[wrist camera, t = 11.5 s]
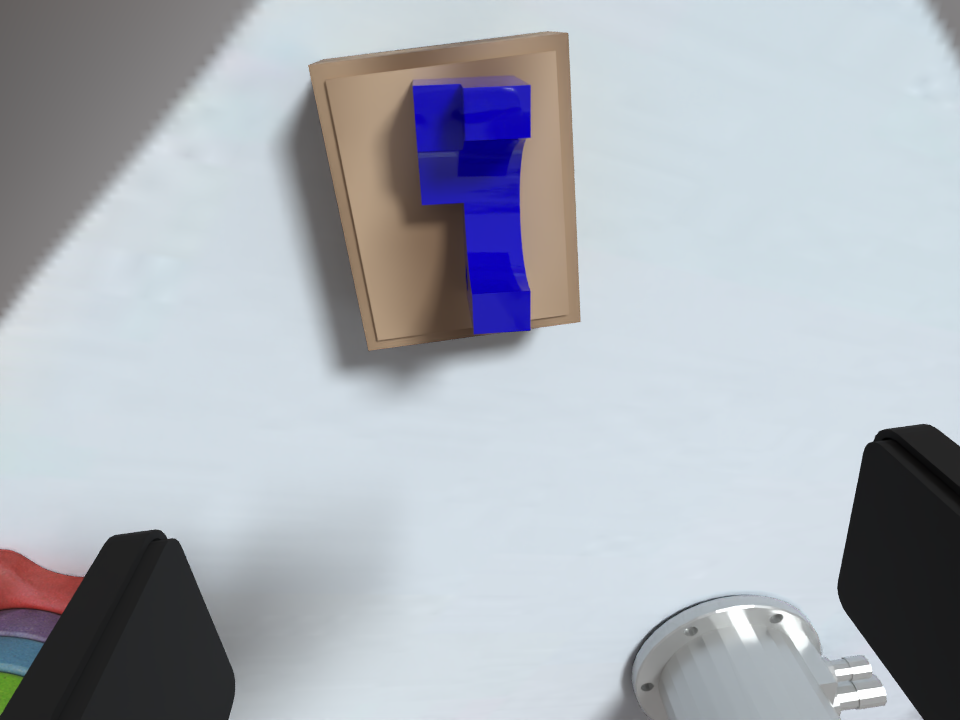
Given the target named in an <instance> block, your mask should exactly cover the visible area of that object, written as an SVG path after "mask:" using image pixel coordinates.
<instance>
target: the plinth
mask: <svg viewBox="0 0 960 720" xmlns="http://www.w3.org/2000/svg"><path fill="white" fill-rule="evenodd" d="M308 67H309V71H310V76H311V81H312V85H313V90H314V95H315V100H316V104H317V109H318V114H319V119H320V123H321V128H322V133H323V138H324V142H325V147H326V152H327V157H328V161H329V166H330V171H331V175H332V180H333V185H334V190H335V194H336V199H337V204H338V209H339V213H340V218H341V223H342V228H343V232H344V237H345V242H346V246H347V251H348V256H349V261H350V265H351V270H352V275H353V280H354V284H355V289H356V294H357V299H358V303H359V308H360V313H361V317H362V322H363V327H364V332H365V336H366V341H367V346H368V351H371V350H378V349H385V348H393V347H400V346H407V345H415V344H422V343H429V342H437V341H444V340H451V339H459V338H466V337H473V336H481V335H488V334H495V333H487V334H474V333H473V327H472V322H471V316H470V311H469V306H468V300H467V295H466V279H465V258H464V236H463V215H462V203H454V204H436V205H422V201H421V188H420V176H419V164H418V152H417V139H416V126H415V113H414V99H413V86H412V85H413V80H417V79H440V78H463V77H486V76H508V75H514V76H515V77H517V78H519V79H521V80H523V81H524V82H526V83H528V84H530V85H531V138H527V139H526V141H525V143H524V147H523V153H522V160H521V172H520V223H521V238H522V249H523V258H524V265H525V271H526V276H527V281H528V285H529V288H530V291H531V321H530V329H532V328H539V327H547V326H554V325H561V324H569V323H576V322H580V299H579V275H578V252H577V228H576V204H575V181H574V157H573V133H572V110H571V86H570V62H569V39H568V33H563V32H549V31H547V32H539V33H531V34H523V35H515V36H507V37H499V38H491V39H483V40H475V41H467V42H459V43H451V44H443V45H435V46H427V47H419V48H411V49H403V50H395V51H387V52H379V53H371V54H363V55H355V56H347V57H339V58H331V59H323V60H320V61H318V62H315V63H313V64H310V65H308ZM501 333H503V332H501Z"/></svg>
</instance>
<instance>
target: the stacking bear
mask: <svg viewBox="0 0 960 720" xmlns="http://www.w3.org/2000/svg"><path fill="white" fill-rule="evenodd" d="M83 578H84V577H74V576H67V575H63V574H58V573H55V572H52V571H49V570H46V569H44V568H42V567H40V566H38V565H37V564H35V563H33V562H32V561H30V560H29V559H27V558H26V557H24V556H22V555H21V554H18V553H16V552H14V551H10V550H3V549H0V715H1V714H2V712H3V710H4V709H5V707H6V705H7V704H8V702H9V700H10V699H11V697H12V695H13V694H14V692H15V690H16V689H17V687H18V686H19V684H20V682H21V681H22V679H23V677H24V676H25V674H26V672H27V671H28V669H29V667H30V666H31V664H32V662H33V661H34V659H35V658H36V656H37V654H38V653H39V651H40V649H41V648H42V646H43V644H44V643H45V641H46V639H47V638H48V636H49V634H50V633H51V631H52V630H53V628H54V626H55V625H56V623H57V621H58V620H59V618H60V616H61V615H62V613H63V611H64V610H65V608H66V606H67V605H68V603H69V602H70V600H71V598H72V597H73V595H74V593H75V592H76V590H77V588H78V587H79V585H80V583H81V582H82V580H83Z"/></svg>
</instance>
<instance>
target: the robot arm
mask: <svg viewBox="0 0 960 720" xmlns="http://www.w3.org/2000/svg"><path fill="white" fill-rule="evenodd" d="M837 589H838V595H839V599H840V602H841V604H842V607H843V608H844V610H845V612H846V613H847V615H848V616H849V618H850V619H851V620H852V622H853V623H854V624H855V626H856V627H857V629H858V630H859V631H860V633H861V634H862V635H863V637H864V638H865V639H866V641H867V642H868V644H869V645H870V646H871V648H872V649H873V650H874V652H875V653H876V655H877V656H878V657H879V659H880V660H881V661H882V663H883V664H884V666H885V667H886V668H887V670H888V671H889V672H890V674H891V675H892V677H893V678H894V679H895V681H896V682H897V683H898V685H899V686H900V688H901V689H902V690H903V692H904V693H905V694H906V696H907V697H908V699H909V700H910V701H911V703H912V704H913V705H914V707H915V708H916V710H917V711H918V712H919V714H920V715H921V716H922V718H923V719H924V720H960V446H959V445H957V444H956V443H955V442H953V441H952V440H951V439H950V438H948V437H947V436H946V435H944V434H943V433H942V432H941V431H939V430H938V429H936V428H935V427H933V426H931V425H927V424H920V425H912V426H905V427H898V428H891V429H884V430H882V431H879V432H878V434H877V435H876V436H875V439H874V441H873V442H871V443H868V444H867V445H866V447H865V449H864V452H863V457H862V462H861V467H860V473H859V478H858V483H857V488H856V493H855V498H854V503H853V508H852V513H851V518H850V523H849V528H848V533H847V539H846V544H845V549H844V554H843V559H842V564H841V569H840V574H839V579H838V587H837ZM632 684H633V688H634V692H635V695H636V698H637V700H638V703H639V705H640V707H641V708H642V710H643V711H644V712H645V714H646V715H647V716H648V717H650V718H651V719H652V720H841V718H840V717H839V716H840V713H841V711H842V710H849V709H865V708H871V707H878V706H884V705H885V704H886V702H887V700H886V693H885V690H884V687H883V685H882V683H881V681H880V680H879V679H878V678H877V676H876V675H874V674H872V669H871V666H870V664H869V662H868V660H867V659H866V658H865V657H864V656H863V655H857V656H851V657H844V658H842V659H838V660H832V661H830V660H829V659H828V658H826V657H821V643H820V640H819V637H818V634H817V632H816V631H815V629H814V628H813V626H812V625H811V623H810V622H809V620H808V619H807V618H806V616H805V615H804V614H803V613H802V612H801V611H800V610H799V609H797V608H795V607H794V606H792V605H790V604H789V603H787V602H784V601H781V600H778V599H775V598H771V597H764V596H757V595H737V596H730V597H724V598H718V599H715V600H711V601H708V602H704V603H701V604H698V605H696V606H694V607H691V608H689V609H687V610H684V611H683V612H681V613H679V614H678V615H676V616H674V617H673V618H671V619H669V620H668V621H667V622H665V623H664V624H663V625H662V626H660V627H659V628H658V629H657V630H655V632H654V633H653V634H652V635H651V636H650V637H649V638H648V639H647V640H646V642H645V643H644V644H643V646H642V647H641V649H640V651H639V652H638V654H637V656H636V659H635V662H634V664H633V667H632ZM234 695H235V678H234V673H233V669H232V667H231V665H230V662H229V660H228V657H227V655H226V653H225V650H224V648H223V645H222V643H221V641H220V638H219V636H218V633H217V631H216V628H215V626H214V624H213V621H212V619H211V616H210V614H209V612H208V609H207V607H206V604H205V602H204V600H203V597H202V595H201V592H200V590H199V588H198V585H197V583H196V580H195V578H194V576H193V573H192V571H191V568H190V566H189V564H188V561H187V559H186V556H185V554H184V551H183V549H182V547H181V545H180V543H179V541H177V540H176V539H167V537H166V535H165V534H164V533H163V532H162V531H161V530H149V531H141V532H134V533H127V534H120V535H114V536H112V537H110V538H109V539H108V540H107V541H106V543H105V544H104V546H103V547H102V549H101V550H100V552H99V554H98V555H97V557H96V559H95V560H94V562H93V564H92V565H91V567H90V569H89V570H88V572H87V574H86V575H85V577H84V578H83V580H82V582H81V583H80V585H79V587H78V588H77V590H76V592H75V593H74V595H73V597H72V598H71V600H70V602H69V603H68V605H67V606H66V608H65V610H64V611H63V613H62V615H61V616H60V618H59V620H58V621H57V623H56V625H55V626H54V628H53V630H52V631H51V633H50V634H49V636H48V638H47V639H46V641H45V643H44V644H43V646H42V648H41V649H40V651H39V653H38V654H37V656H36V658H35V659H34V661H33V662H32V664H31V666H30V667H29V669H28V671H27V672H26V674H25V676H24V677H23V679H22V681H21V682H20V684H19V686H18V687H17V689H16V690H15V692H14V694H13V695H12V697H11V699H10V700H9V702H8V704H7V705H6V707H5V709H4V710H3V712H2V714H1V715H0V720H228V719H229V715H230V712H231V708H232V704H233V700H234Z"/></svg>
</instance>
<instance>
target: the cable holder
mask: <svg viewBox="0 0 960 720" xmlns="http://www.w3.org/2000/svg"><path fill="white" fill-rule="evenodd" d="M412 86H413V99H414V113H415V126H416V139H417V152H418V164H419V176H420V188H421V201H422V205H436V204H454V203H462V215H463V236H464V258H465V279H466V295H467V300H468V306H469V311H470V316H471V322H472V327H473V333H474V334H487V333H501V332H516V331H530V321H531V291H530V288H529V285H528V281H527V276H526V271H525V265H524V258H523V249H522V238H521V223H520V172H521V160H522V153H523V147H524V143H525V141H526V139H527V138H531V85H530V84H528V83H526V82H524V81H523V80H521V79H519V78H517V77H515V76H514V75H508V76H486V77H463V78H440V79H417V80H413V85H412Z"/></svg>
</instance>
